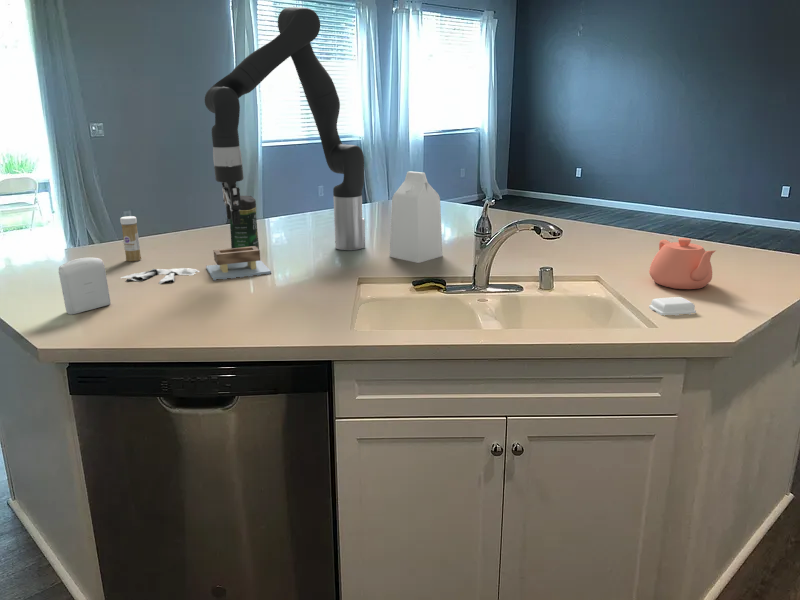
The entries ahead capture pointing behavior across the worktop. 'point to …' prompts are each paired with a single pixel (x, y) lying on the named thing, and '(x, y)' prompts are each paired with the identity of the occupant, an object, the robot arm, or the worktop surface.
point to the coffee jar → (245, 225)
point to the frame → (236, 255)
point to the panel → (237, 270)
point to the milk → (416, 220)
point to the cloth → (167, 279)
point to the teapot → (681, 265)
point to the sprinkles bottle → (130, 238)
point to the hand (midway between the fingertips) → (233, 221)
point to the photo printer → (84, 284)
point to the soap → (672, 306)
